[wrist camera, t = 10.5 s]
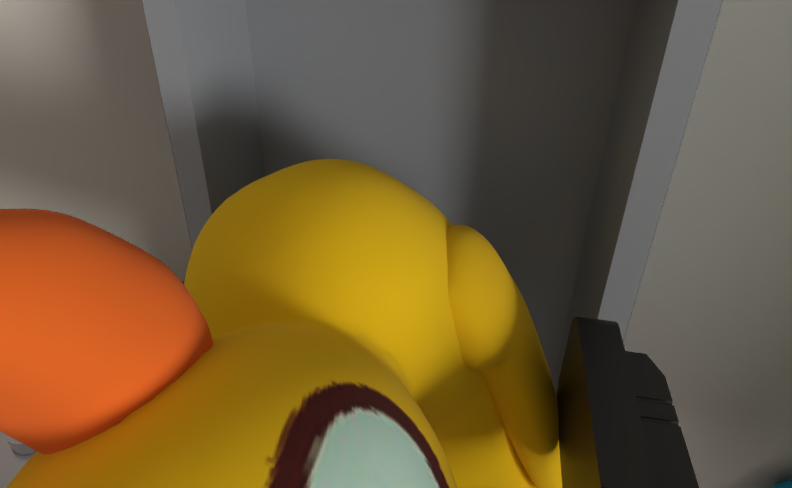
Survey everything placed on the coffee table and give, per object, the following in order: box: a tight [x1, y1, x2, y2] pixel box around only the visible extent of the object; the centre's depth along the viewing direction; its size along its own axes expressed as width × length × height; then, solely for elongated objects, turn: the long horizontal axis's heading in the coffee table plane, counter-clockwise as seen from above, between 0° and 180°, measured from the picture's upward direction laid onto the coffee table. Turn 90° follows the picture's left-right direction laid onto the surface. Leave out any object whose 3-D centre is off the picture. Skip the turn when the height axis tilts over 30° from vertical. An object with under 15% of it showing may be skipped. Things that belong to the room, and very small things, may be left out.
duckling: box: [0, 159, 562, 488], centre depth 9 cm, size 11×5×10 cm, turn 30°
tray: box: [142, 0, 723, 396], centre depth 14 cm, size 14×9×4 cm, turn 0°
